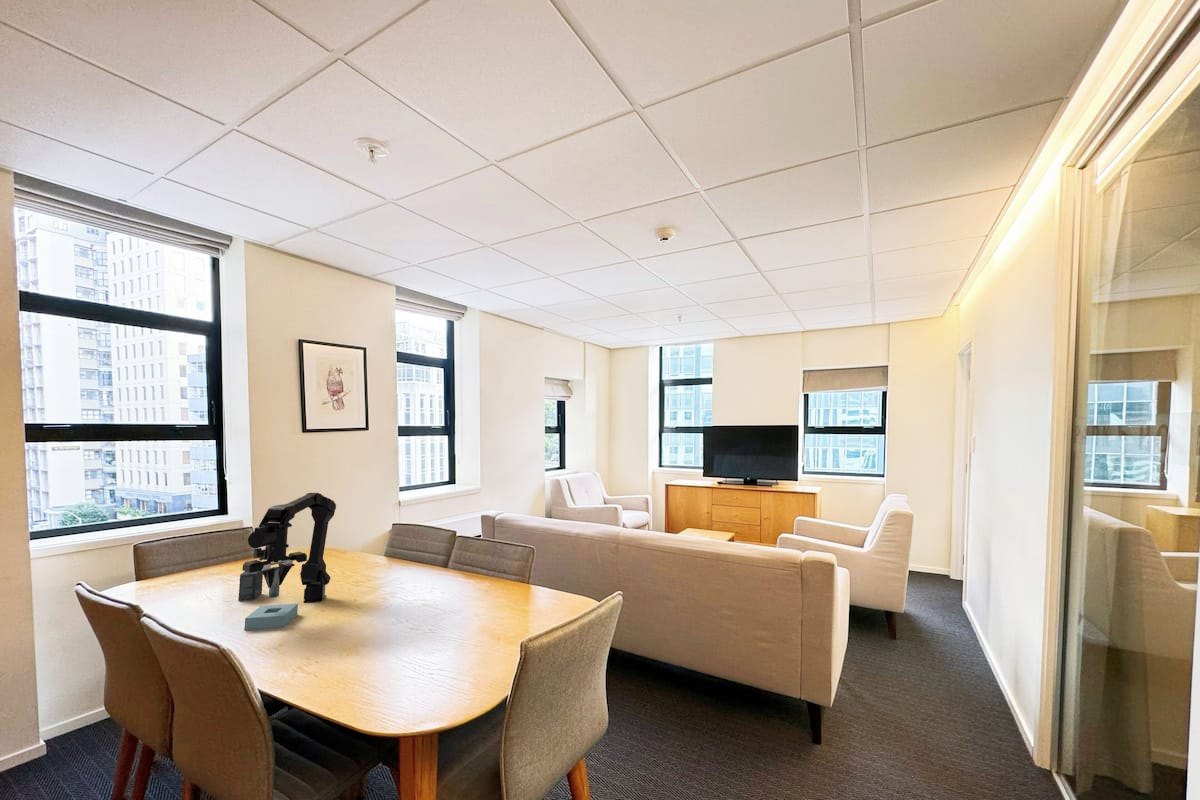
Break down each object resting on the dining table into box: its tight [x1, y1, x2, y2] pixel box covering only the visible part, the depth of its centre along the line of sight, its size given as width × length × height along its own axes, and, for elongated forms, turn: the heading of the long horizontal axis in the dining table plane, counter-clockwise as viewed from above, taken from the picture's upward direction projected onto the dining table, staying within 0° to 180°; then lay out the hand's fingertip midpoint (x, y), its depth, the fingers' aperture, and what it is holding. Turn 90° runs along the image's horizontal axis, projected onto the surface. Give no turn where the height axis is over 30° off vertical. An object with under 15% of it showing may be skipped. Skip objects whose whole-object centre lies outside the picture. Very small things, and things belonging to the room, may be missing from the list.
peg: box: [268, 566, 281, 599], centre depth 168 cm, size 3×3×10 cm
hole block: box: [243, 603, 299, 631], centre depth 167 cm, size 12×12×4 cm
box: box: [238, 571, 264, 602], centre depth 191 cm, size 8×6×11 cm
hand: (274, 586), depth 168 cm, fingers closed on peg, 3 cm apart
